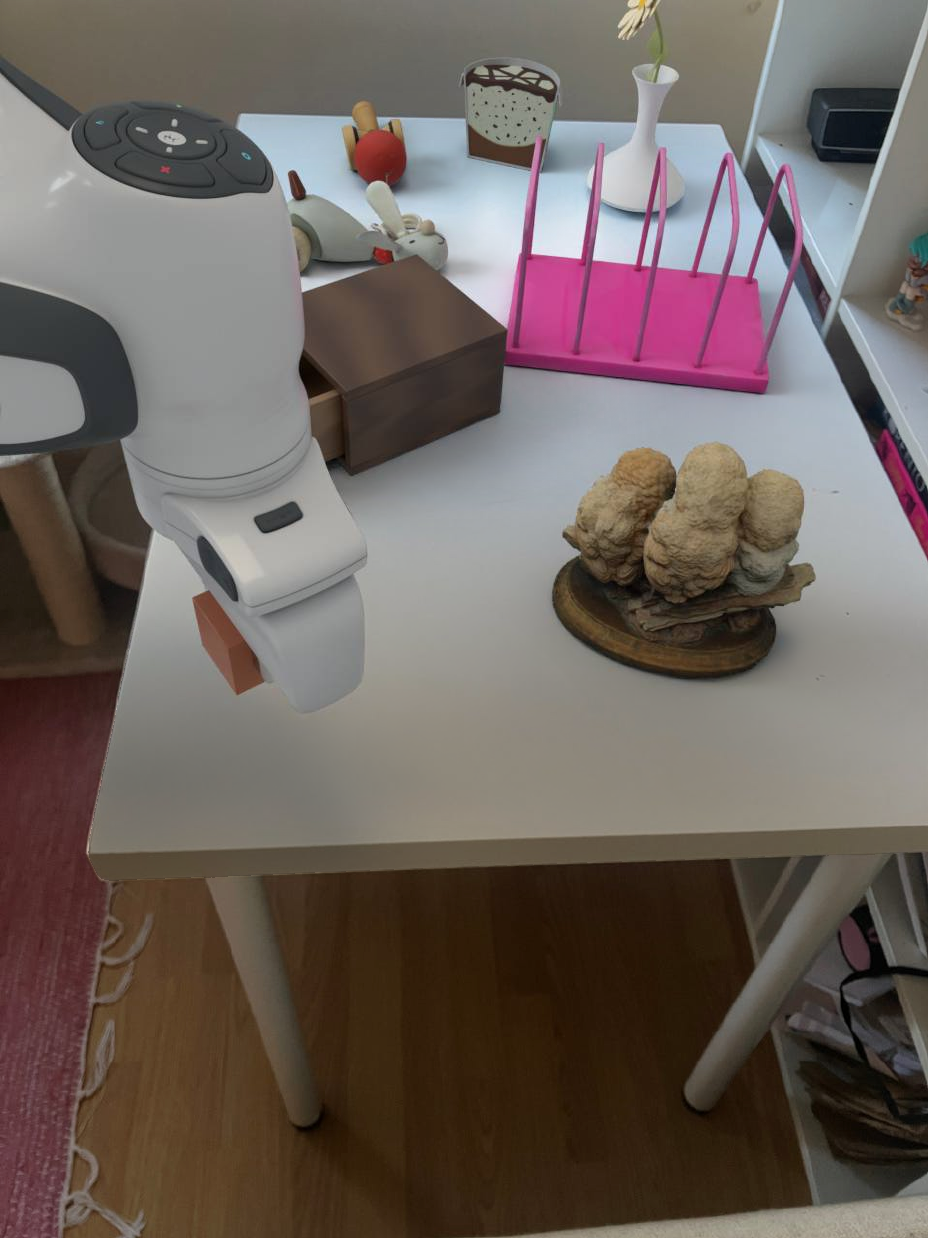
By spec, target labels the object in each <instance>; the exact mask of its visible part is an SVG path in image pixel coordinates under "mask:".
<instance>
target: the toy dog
mask: <svg viewBox="0 0 928 1238" xmlns="http://www.w3.org/2000/svg"><path fill="white" fill-rule="evenodd" d="M287 177H288V182H289V188H290V193H291V196H292V197H293V198H291V199H289V200H288V201H286V202H287V206H288V210H289V214H290V218H291V222H292V227H293V233H294V238H295V244H296V251H297V257H298V265H299V272H300V273H301V272H302V271H303V270H305V269H306V267H307V265H309V264H308V263H309V261H310V259H312V260H318V261H326V262H335V263H351V262H354V263H355V262H365V261H370V260H371V259H372V257H374V258H375V261H376V262H378V263H380V264H382V265H386V264H389V263H392V262H395V261H398V260H401V259H404V258H407V257H410V256H413V255H415V254H417V255H418V256H420V257H421V258H422V259H423V260H424V261H426V262H427V263H428V264H429V265H430V266H432V267H433V268H434V269H435V270H436V271H439V270H441V269H442V268H443V267H444V266H445V265H446V263H447V261H448V256H449V247H448V242H447V240H446V237H445V236H444V235H443V234H442V233H441V232H440V231H438V230H436V225H435V223H434V222H433V221H432V220H431V219H424V220H423V219H422V217H421V216H420V215H418V214H416V213H411V212H409V213H402V214H401V212H400V209H399V204H398V203H397V201H396V197H395V195H394V194H393V191H392V189H391V188H390V187H391V186H388V185H387V184H386V183H385V182H382V181H375V182H372V183H371V184H368V186H366V190H365V199H366V202H367V204H368V205H369V206H370V208H371V209H372V210H373V211H374V213H375V214H376V215H377V217H378V218H379V219H380V221H381V223H380V225H379V224H378V223H376V222H371V224H370V228H372V229H373V230H369V229H367V227H366V226H364V225H363V224H362V223H361V222H360V221H359V220H358V219H356V217H354V216H352V215H351V213H349V212H347V211H345V210H344V208H341V207H340V206H339V205H337V204H336V203H333V202H332V201H330V200H329V199H326V198H324V197H322V196H319V195H317V194H310V193H309V194H308V193H307V190H306V187H305V186H304V184H303V182H302V180H301V178H300V176H299V174H298V173H297V171H296V170H295V169H291V170H288V172H287ZM407 229H414V230H412V231H410V230H407Z"/></svg>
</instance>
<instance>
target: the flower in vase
mask: <svg viewBox="0 0 928 1238" xmlns="http://www.w3.org/2000/svg"><path fill="white" fill-rule="evenodd" d="M661 1H662V0H628V2H627V7H628V8H629V9H630V10H628V11H627V12H626V13H625V14H624V16H623V17H622V19H621V20H620V21H619V23H618V25H617V29H622V30H621V31H620V32H619V34H618V35H617V38H618V39H622V41H625V40H626V41H629V40H630V39H631V38H632V37H635V36H637V34H638V33H639V32H640V30H642V29H643V27H644V26H645V25H646V23H647V21H648V20H650V19H651V18H652V17H653V15H654V19H655V23H656V27H657V28H656V29H655V31H653V33H652V34H651V36H650V37H649V39H648V41H647V43H646V44H647V45H646V48H647V51H648V53H649V55H650V56H651V59H652V60H653V61H654V63H644V64H640V65H636V66H635V67H634V68H632V70H631V73H632V77H633V78H634V81H635V83H636V86H637V87H636V88H637V92H638V107H637V108H638V109H637V117H636V123H635V128H634V132H633V135H632V137H631V138H630V140H629V141H628V142H627V143H626V144H624V145H622V146H620V147H619V148H616V149H615V150H613V151H611V152H610V153H608V154H606V155H604V160H603V172H602V186H601V200H600V202H602V203H603V204H605V205H608V206H610V207H612V208H615V209H619V210H622V211H626V212H636V213H646V211H647V206H648V201H649V196H650V190H651V185H652V180H653V175H654V170H655V165H656V160H657V156H658V152H659V149H660V148H659V146H657V142H656V130H657V124H658V120H659V115H660V112H661V109H662V107H663V106H662V105H663V103H664V101H665V98H666V96H667V94H668V92H669V91H670V90H671V88H672V87H673V86H674V85H675V83H676V82H677V81H678V80H679V79H680V75H679V73H678V71H676V69H674V68H672V67H670V66H667V65H663V64H664V62H665V61H667V60H668V58H669V57H670V54H671V53H670V48H669V46H668V44H667V41H666V39H665V36H664V34H663V29H662V24H661V21H660V17H659V13H658V10H657V8H658V6H659V5H660V3H661ZM666 160H667V207H666V209H669V208H671V207H673V206H674V205H676V204H677V203H678V202H679V201H680V200H681V199H682V197H683V196H684V194H685V181H684V178H683V175H682V174H681V173H680V171H679V169H678V168H677V167H676V165H675V164H674V163H673V162H672V161H671V160H670V159H669V158H668V157H667V156H666ZM594 168H595V163H594V164H593V165H592V166H591V168H590V169H589V171H588V173H587V175H586V184H587V186H588V189H589V191H590V192H591V188H592V182H593V175H594ZM653 212H660V175H659V180H658V185H657V190H656V195H655V200H654V205H653V210H652V213H653Z"/></svg>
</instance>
